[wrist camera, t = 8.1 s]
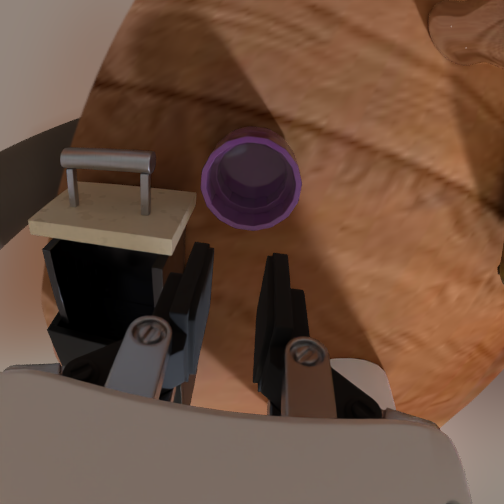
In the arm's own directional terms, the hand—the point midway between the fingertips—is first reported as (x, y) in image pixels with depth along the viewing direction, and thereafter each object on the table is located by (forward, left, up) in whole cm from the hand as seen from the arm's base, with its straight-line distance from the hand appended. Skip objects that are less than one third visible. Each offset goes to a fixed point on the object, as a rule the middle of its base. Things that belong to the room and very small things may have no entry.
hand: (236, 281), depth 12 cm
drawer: (-10, -7, -14) cm, 19 cm away
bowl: (0, 0, -15) cm, 15 cm away
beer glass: (+15, +16, -15) cm, 27 cm away
